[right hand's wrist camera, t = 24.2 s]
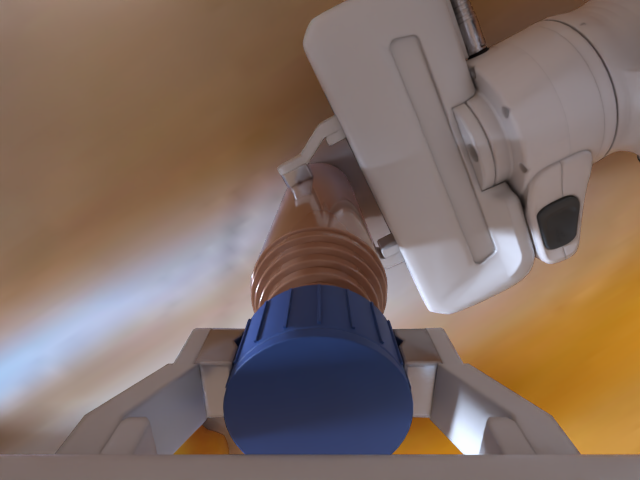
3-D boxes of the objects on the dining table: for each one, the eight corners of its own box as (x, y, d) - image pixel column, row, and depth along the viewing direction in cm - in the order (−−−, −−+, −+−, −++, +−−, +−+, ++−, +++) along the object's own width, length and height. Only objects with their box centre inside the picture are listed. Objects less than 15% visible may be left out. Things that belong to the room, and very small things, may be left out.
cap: (329, 250, 9) (332, 295, 7) (425, 359, 11) (453, 426, 8) (209, 340, 10) (179, 404, 8) (309, 429, 12) (307, 505, 9)
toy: (247, 480, 35) (127, 529, 38) (245, 416, 40) (140, 463, 42) (171, 449, 28) (29, 512, 31) (180, 377, 33) (58, 435, 35)
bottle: (276, 176, 28) (172, 341, 8) (339, 152, 27) (390, 269, 8) (301, 235, 30) (263, 486, 10) (360, 214, 29) (446, 439, 9)
